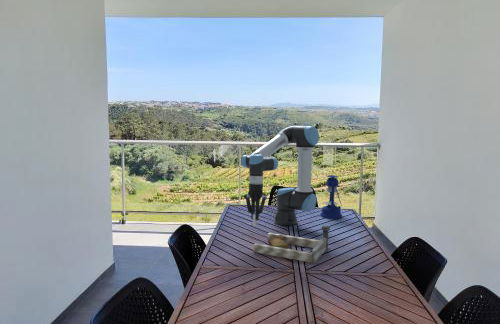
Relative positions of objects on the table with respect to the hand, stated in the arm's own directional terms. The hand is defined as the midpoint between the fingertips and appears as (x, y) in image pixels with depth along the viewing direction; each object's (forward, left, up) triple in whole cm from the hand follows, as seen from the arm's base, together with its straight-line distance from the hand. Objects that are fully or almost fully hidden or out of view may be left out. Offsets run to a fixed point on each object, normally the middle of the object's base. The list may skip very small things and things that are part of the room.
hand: (254, 225), depth 200 cm
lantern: (+25, +78, -11) cm, 83 cm away
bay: (+21, +2, -11) cm, 24 cm away
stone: (+14, +1, -11) cm, 18 cm away
